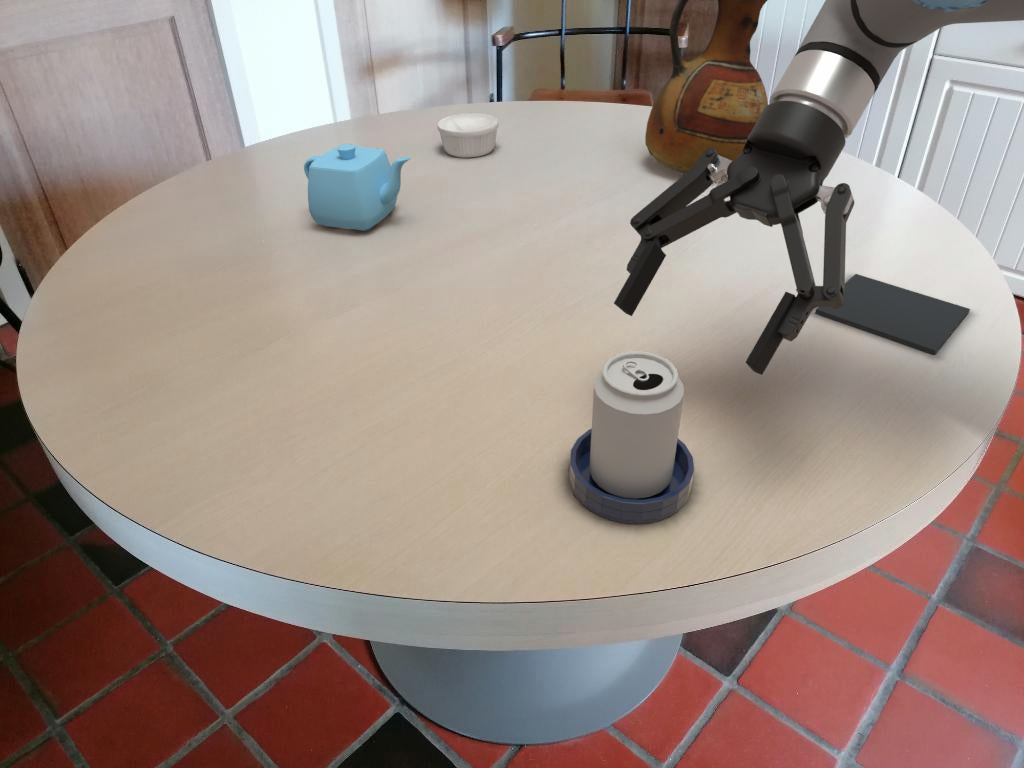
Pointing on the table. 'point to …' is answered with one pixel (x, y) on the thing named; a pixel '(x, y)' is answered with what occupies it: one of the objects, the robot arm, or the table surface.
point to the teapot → (352, 186)
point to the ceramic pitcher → (709, 92)
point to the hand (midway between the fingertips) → (684, 338)
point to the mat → (897, 313)
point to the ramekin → (468, 134)
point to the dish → (630, 508)
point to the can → (635, 424)
